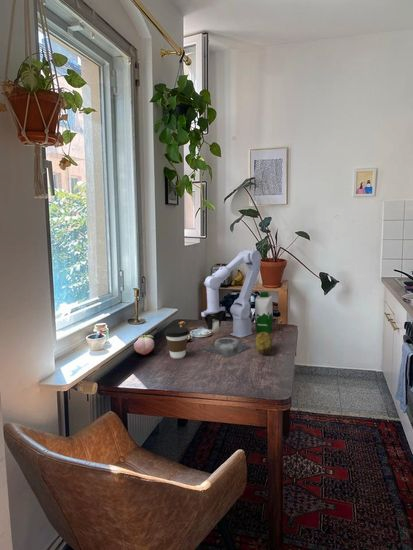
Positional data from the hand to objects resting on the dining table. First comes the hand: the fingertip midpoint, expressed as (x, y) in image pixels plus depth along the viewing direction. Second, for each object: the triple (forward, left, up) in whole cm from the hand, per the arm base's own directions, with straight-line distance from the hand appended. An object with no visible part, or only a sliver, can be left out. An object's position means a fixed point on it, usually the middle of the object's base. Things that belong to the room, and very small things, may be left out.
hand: (214, 327), depth 200 cm
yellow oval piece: (-3, +28, -7) cm, 29 cm away
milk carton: (-28, +9, -7) cm, 30 cm away
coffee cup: (+26, +3, -7) cm, 27 cm away
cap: (0, 0, -2) cm, 2 cm away
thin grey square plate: (+5, +13, -6) cm, 15 cm away
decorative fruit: (+35, -10, -7) cm, 37 cm away
